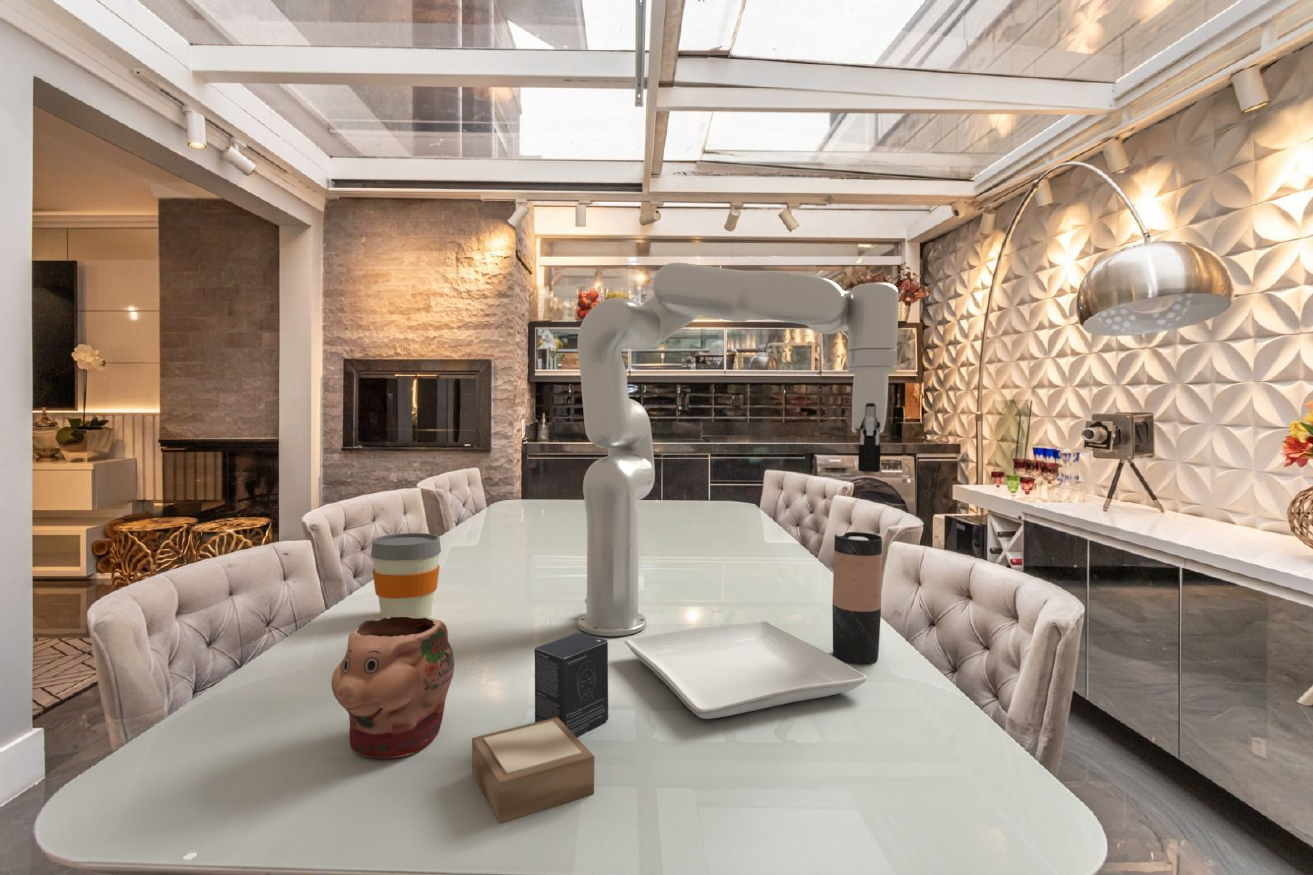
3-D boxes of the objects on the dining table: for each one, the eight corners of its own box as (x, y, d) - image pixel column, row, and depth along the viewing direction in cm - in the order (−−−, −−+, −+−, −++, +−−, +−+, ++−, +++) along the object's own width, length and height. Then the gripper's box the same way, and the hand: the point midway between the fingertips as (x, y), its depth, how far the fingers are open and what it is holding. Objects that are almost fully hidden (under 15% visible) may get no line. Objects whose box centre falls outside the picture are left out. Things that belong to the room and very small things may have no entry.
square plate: (621, 660, 107) (621, 636, 107) (765, 639, 118) (766, 617, 117) (697, 737, 82) (697, 706, 82) (870, 701, 93) (871, 674, 93)
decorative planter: (397, 696, 92) (397, 597, 91) (481, 702, 90) (481, 601, 89) (302, 774, 72) (301, 648, 71) (408, 784, 70) (408, 655, 70)
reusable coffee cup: (440, 604, 135) (440, 531, 134) (441, 623, 123) (441, 543, 122) (374, 609, 131) (373, 534, 130) (367, 629, 119) (367, 547, 118)
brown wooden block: (471, 773, 72) (471, 736, 72) (557, 750, 77) (557, 715, 77) (500, 823, 64) (500, 780, 64) (594, 793, 69) (594, 754, 69)
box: (578, 708, 89) (579, 630, 88) (609, 721, 85) (609, 640, 84) (532, 729, 83) (533, 646, 82) (563, 744, 79) (563, 657, 78)
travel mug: (882, 667, 104) (886, 541, 103) (832, 663, 105) (835, 539, 105) (876, 650, 111) (879, 533, 111) (829, 646, 113) (832, 530, 112)
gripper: (849, 366, 115) (847, 464, 116) (845, 358, 99) (842, 472, 99) (895, 366, 113) (892, 465, 113) (898, 357, 96) (895, 474, 97)
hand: (869, 468), depth 106 cm, fingers open, 9 cm apart
